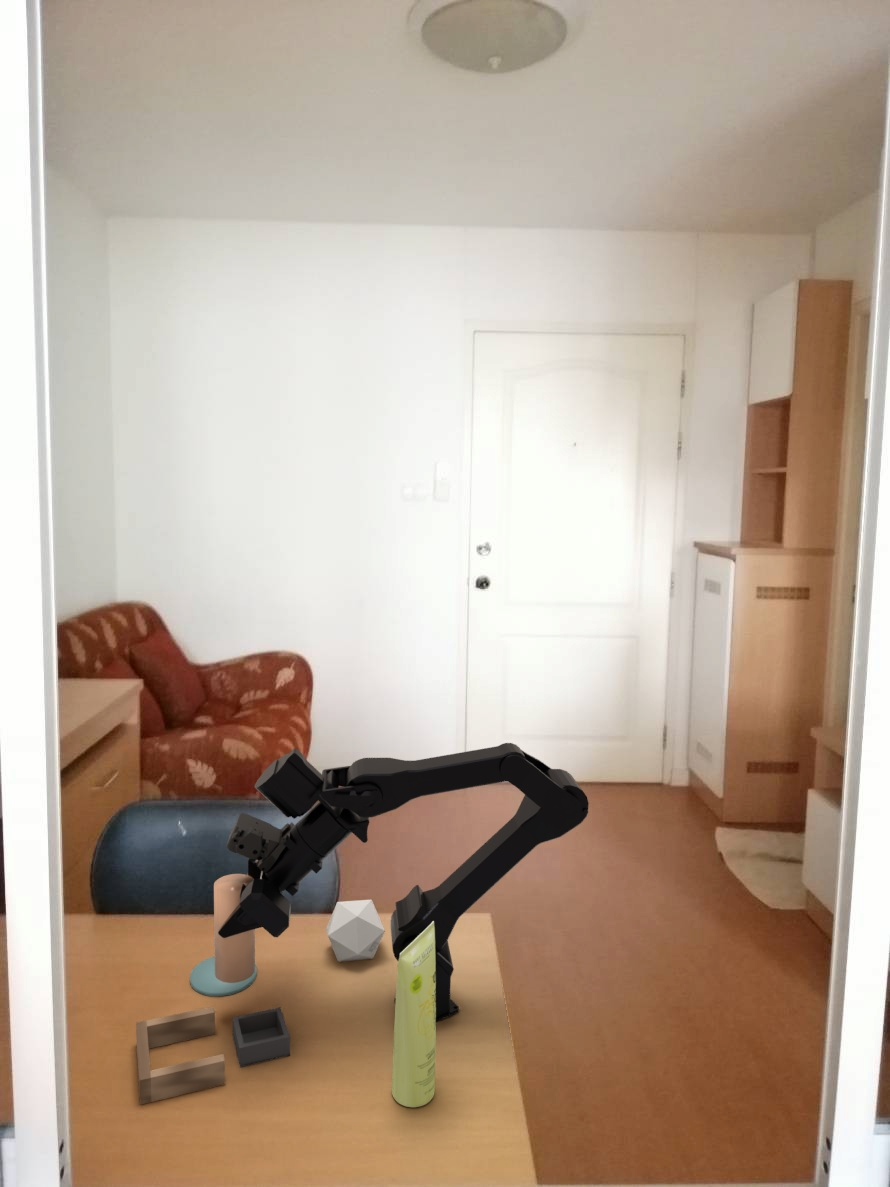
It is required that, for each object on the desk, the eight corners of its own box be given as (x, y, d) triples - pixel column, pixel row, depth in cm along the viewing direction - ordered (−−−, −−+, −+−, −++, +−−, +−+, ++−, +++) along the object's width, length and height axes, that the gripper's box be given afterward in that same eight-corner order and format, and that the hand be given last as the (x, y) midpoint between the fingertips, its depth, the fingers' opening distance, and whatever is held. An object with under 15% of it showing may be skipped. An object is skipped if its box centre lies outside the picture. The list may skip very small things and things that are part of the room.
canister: (257, 978, 106) (257, 889, 104) (216, 986, 104) (215, 895, 102) (252, 956, 110) (252, 871, 108) (213, 963, 108) (212, 876, 107)
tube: (440, 1109, 93) (445, 947, 90) (395, 1116, 92) (399, 952, 89) (429, 1074, 99) (434, 920, 96) (387, 1080, 98) (390, 924, 95)
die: (366, 982, 117) (400, 918, 120) (313, 952, 117) (348, 888, 119) (361, 969, 125) (393, 909, 128) (311, 941, 124) (344, 881, 127)
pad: (267, 982, 115) (267, 978, 115) (203, 1004, 110) (202, 1000, 110) (242, 951, 123) (242, 947, 123) (181, 970, 118) (181, 966, 117)
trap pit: (280, 1024, 107) (280, 1006, 106) (290, 1055, 101) (290, 1036, 101) (232, 1035, 104) (232, 1017, 104) (239, 1067, 99) (239, 1048, 99)
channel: (213, 1028, 106) (213, 1006, 105) (224, 1084, 96) (224, 1060, 96) (136, 1044, 102) (136, 1022, 102) (140, 1104, 93) (139, 1080, 92)
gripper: (272, 770, 113) (189, 849, 114) (259, 828, 95) (160, 922, 95) (330, 824, 115) (249, 901, 116) (328, 891, 97) (231, 983, 97)
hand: (223, 923), depth 106 cm, fingers closed on canister, 5 cm apart
